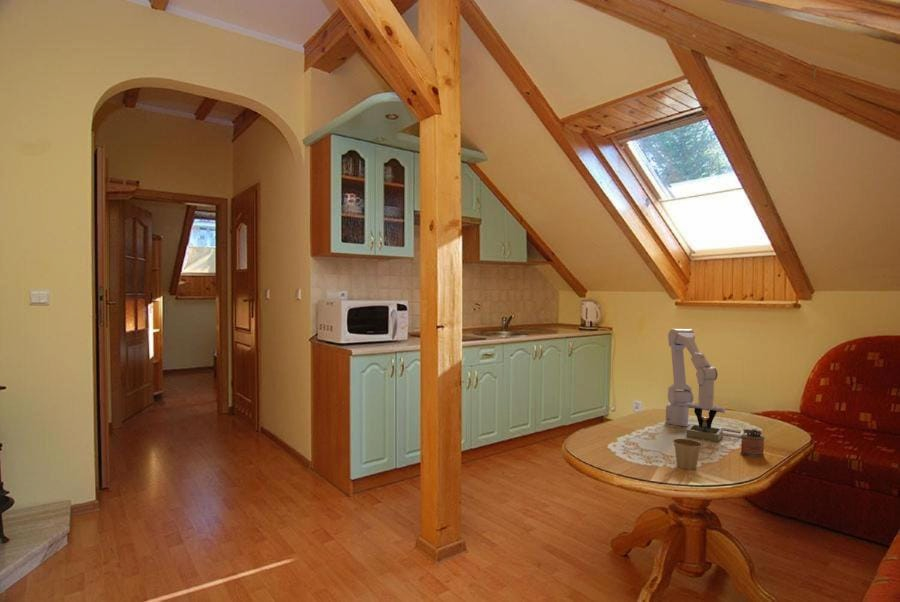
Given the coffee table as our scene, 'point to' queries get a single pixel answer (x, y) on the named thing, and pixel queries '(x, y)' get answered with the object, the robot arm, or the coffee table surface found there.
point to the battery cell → (704, 424)
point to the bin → (705, 433)
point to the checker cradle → (732, 433)
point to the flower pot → (687, 453)
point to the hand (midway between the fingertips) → (704, 427)
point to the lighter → (752, 443)
